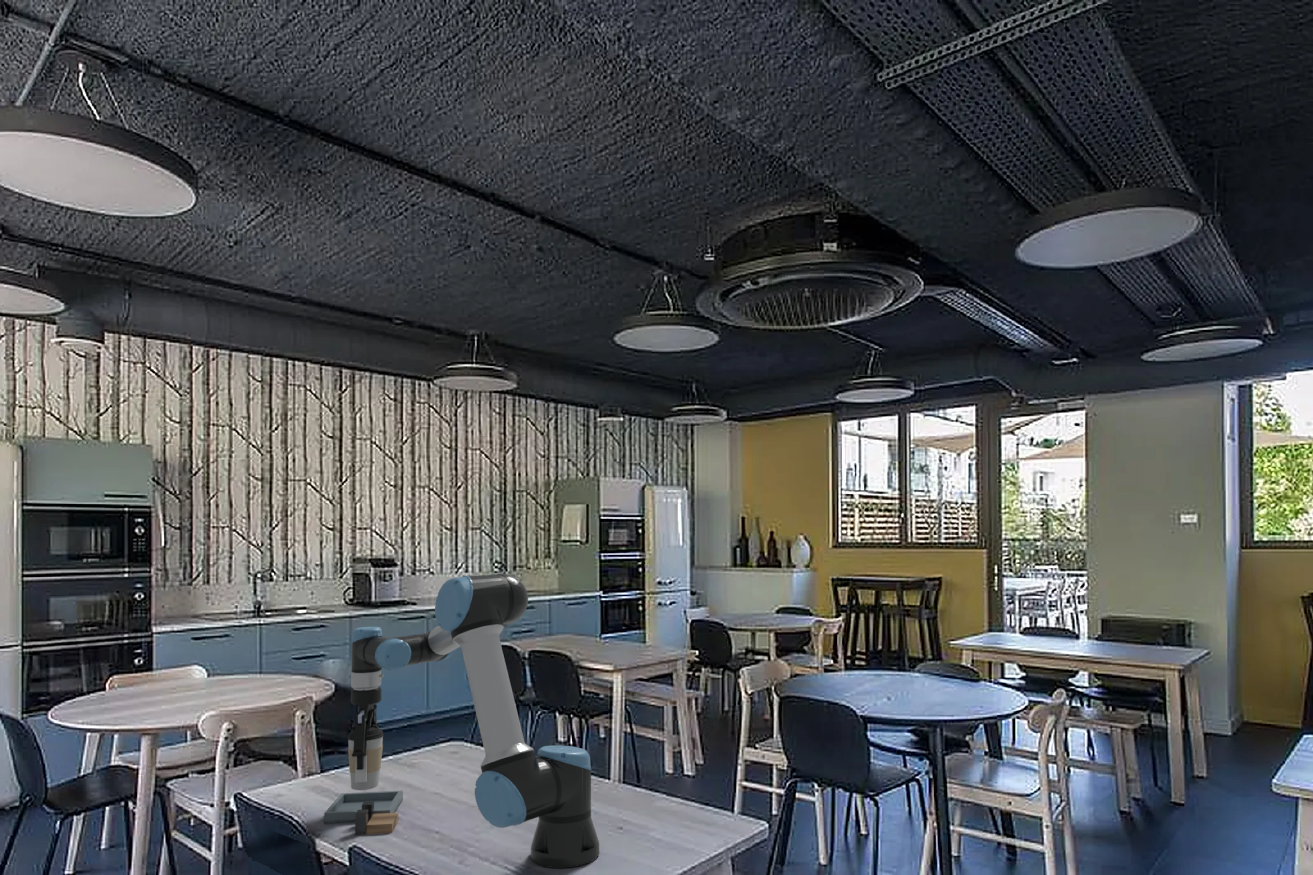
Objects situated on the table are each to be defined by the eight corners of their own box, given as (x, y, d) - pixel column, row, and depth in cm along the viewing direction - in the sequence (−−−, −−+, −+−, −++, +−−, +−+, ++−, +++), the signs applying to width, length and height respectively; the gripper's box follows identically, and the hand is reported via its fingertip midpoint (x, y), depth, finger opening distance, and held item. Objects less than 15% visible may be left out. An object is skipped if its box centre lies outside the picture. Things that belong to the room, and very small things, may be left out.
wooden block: (392, 834, 211) (392, 823, 211) (366, 836, 210) (366, 825, 210) (398, 823, 219) (398, 812, 219) (373, 824, 218) (373, 814, 218)
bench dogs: (365, 834, 210) (365, 812, 210) (355, 834, 210) (355, 813, 210) (373, 822, 218) (373, 801, 219) (363, 822, 218) (364, 802, 219)
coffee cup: (388, 781, 231) (389, 722, 233) (374, 791, 222) (375, 731, 224) (355, 780, 232) (356, 722, 234) (340, 791, 223) (341, 730, 225)
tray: (390, 820, 220) (390, 810, 220) (324, 823, 218) (324, 813, 218) (402, 800, 235) (402, 790, 236) (341, 803, 234) (341, 793, 234)
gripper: (371, 695, 219) (370, 788, 217) (389, 679, 241) (388, 764, 238) (340, 696, 219) (339, 789, 217) (361, 680, 240) (360, 765, 238)
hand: (365, 776), depth 228 cm, fingers closed on coffee cup, 9 cm apart
